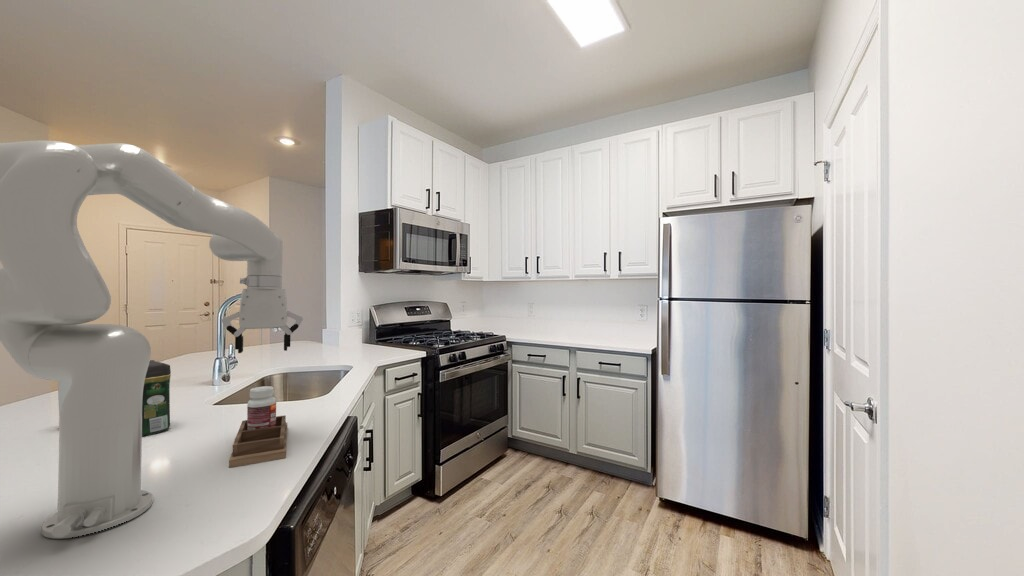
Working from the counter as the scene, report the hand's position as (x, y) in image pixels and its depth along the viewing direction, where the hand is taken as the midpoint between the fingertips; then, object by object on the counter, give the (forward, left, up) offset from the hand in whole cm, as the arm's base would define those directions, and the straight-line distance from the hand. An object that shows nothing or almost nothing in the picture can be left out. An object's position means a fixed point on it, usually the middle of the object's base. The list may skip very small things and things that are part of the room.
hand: (263, 351), depth 99 cm
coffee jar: (+21, +27, -22) cm, 41 cm away
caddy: (-4, 0, -22) cm, 23 cm away
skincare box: (+33, +43, -22) cm, 58 cm away
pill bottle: (0, 0, -21) cm, 21 cm away
